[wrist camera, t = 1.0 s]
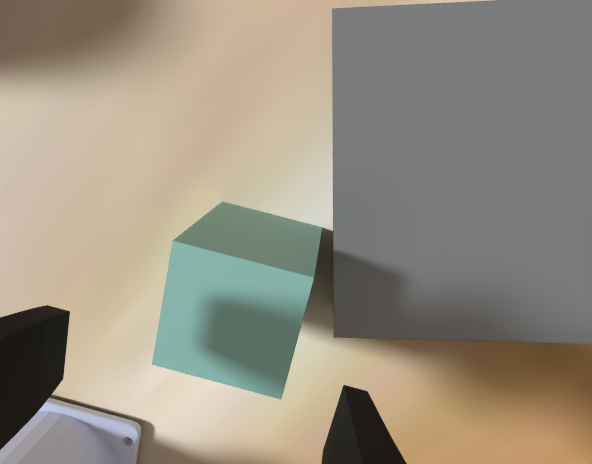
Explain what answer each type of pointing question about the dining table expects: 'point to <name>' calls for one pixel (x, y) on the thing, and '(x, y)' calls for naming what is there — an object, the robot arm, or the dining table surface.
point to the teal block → (237, 298)
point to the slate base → (463, 171)
